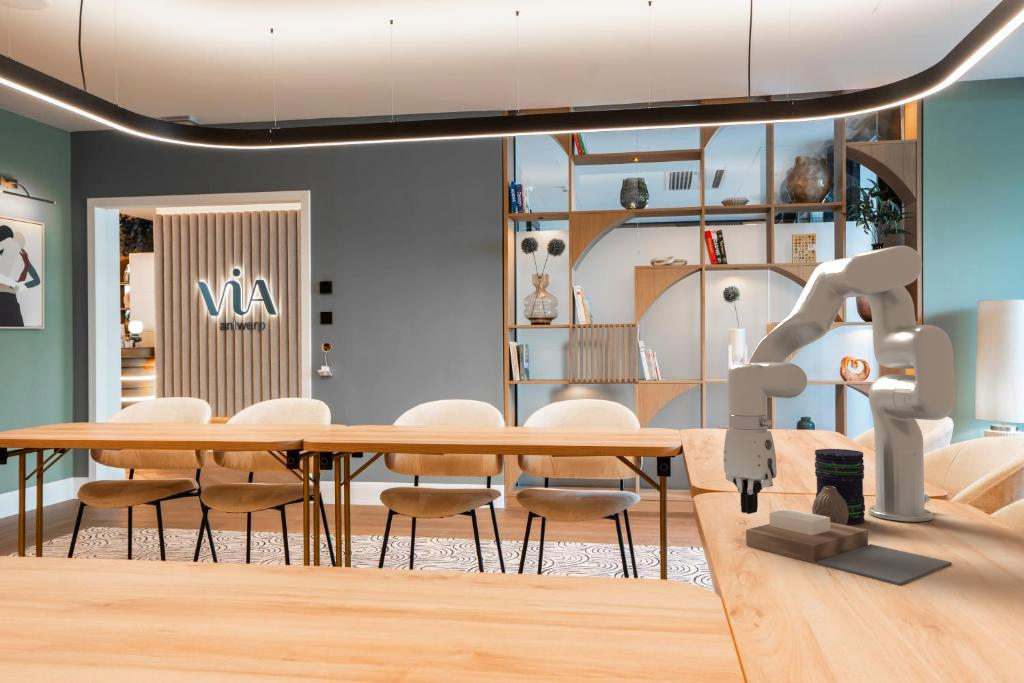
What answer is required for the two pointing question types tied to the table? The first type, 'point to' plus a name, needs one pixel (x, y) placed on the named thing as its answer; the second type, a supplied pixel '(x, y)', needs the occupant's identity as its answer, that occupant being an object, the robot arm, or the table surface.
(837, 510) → the vase
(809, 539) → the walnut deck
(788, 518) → the ivory tile
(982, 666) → the table surface
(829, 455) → the storage jar
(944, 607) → the table surface
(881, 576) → the charcoal mat
